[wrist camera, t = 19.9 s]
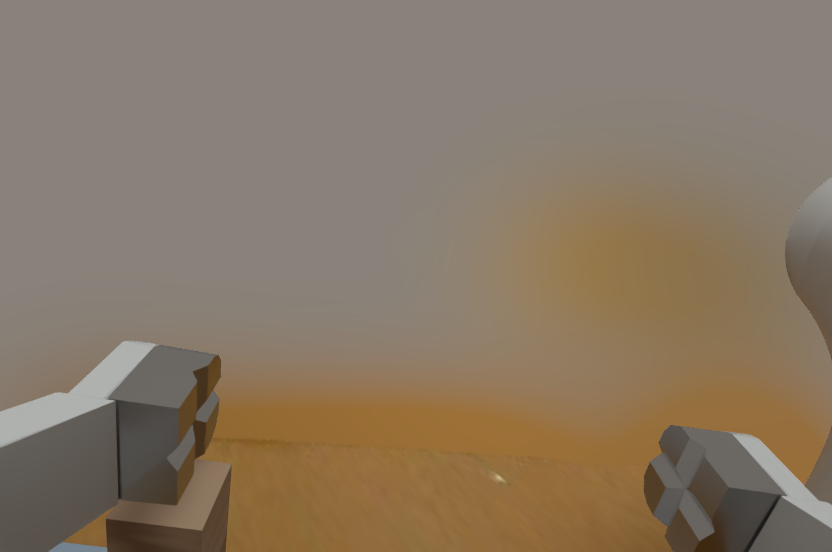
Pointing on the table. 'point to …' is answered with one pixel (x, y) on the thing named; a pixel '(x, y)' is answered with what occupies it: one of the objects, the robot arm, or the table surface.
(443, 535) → the table surface
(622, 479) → the table surface
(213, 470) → the pillar
